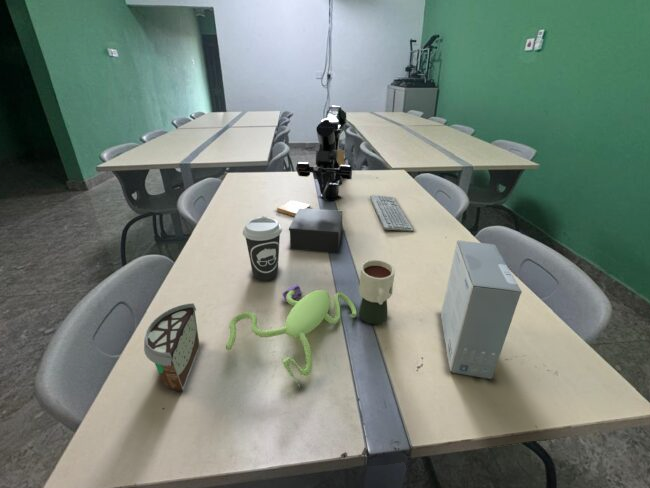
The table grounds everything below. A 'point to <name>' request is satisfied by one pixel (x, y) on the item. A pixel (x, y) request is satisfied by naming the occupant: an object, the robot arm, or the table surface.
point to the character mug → (375, 290)
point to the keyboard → (390, 213)
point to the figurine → (298, 320)
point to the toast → (292, 207)
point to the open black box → (315, 241)
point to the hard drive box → (477, 308)
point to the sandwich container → (341, 157)
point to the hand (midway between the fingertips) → (321, 193)
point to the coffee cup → (263, 246)
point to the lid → (317, 221)
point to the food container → (173, 345)
